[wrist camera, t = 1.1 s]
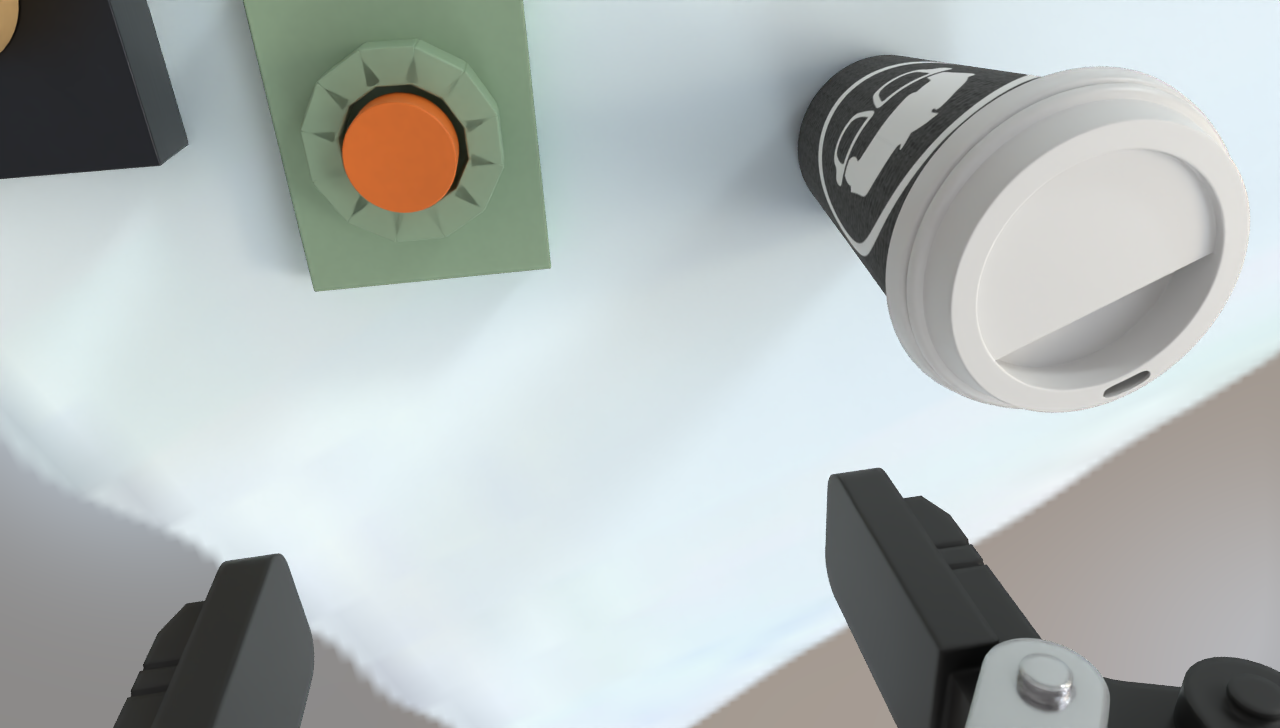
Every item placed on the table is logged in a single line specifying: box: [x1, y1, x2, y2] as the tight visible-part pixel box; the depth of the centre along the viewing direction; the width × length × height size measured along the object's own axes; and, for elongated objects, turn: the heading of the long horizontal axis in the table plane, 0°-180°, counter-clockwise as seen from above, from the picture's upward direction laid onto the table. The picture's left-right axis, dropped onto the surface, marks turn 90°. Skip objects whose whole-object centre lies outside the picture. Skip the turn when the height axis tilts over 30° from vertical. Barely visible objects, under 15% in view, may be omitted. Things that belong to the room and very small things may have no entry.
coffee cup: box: [798, 55, 1250, 413], centre depth 29 cm, size 10×10×15 cm
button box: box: [243, 0, 551, 292], centre depth 31 cm, size 11×9×4 cm
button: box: [342, 92, 459, 213], centre depth 29 cm, size 4×4×2 cm
